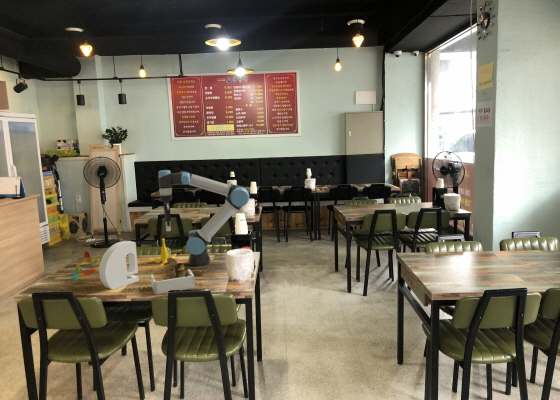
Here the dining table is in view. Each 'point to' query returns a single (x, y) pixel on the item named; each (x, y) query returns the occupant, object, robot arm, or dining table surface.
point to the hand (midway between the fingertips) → (168, 230)
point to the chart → (84, 263)
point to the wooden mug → (177, 268)
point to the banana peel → (163, 254)
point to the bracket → (119, 265)
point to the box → (173, 284)
